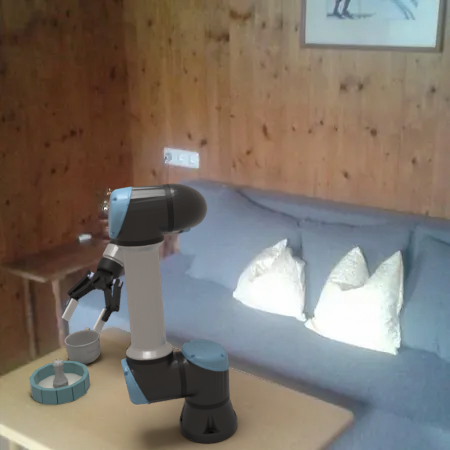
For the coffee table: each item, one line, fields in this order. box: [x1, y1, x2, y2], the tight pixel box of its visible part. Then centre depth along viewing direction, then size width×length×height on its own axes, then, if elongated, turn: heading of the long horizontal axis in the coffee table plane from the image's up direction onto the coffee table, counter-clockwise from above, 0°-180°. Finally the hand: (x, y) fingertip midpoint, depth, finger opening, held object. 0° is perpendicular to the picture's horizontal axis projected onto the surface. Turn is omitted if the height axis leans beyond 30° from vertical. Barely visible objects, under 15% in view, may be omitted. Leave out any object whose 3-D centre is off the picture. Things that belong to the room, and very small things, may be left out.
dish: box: [28, 360, 91, 406], centre depth 193 cm, size 16×16×4 cm
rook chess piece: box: [52, 358, 68, 388], centre depth 192 cm, size 4×4×8 cm
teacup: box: [64, 327, 102, 365], centre depth 210 cm, size 14×11×8 cm
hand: (80, 325), depth 196 cm, fingers open, 13 cm apart
